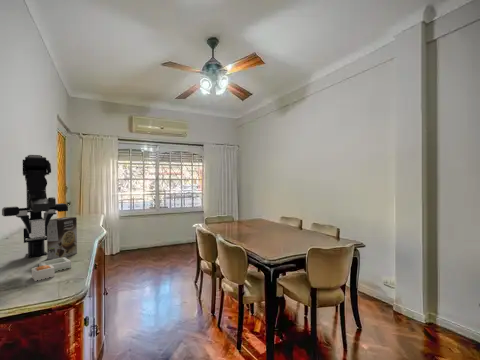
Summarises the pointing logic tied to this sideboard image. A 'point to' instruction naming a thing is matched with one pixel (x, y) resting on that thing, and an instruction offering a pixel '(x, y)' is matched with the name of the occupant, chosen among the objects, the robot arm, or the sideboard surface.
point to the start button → (42, 267)
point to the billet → (37, 228)
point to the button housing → (43, 273)
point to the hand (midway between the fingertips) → (37, 232)
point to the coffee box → (61, 237)
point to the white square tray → (57, 263)
